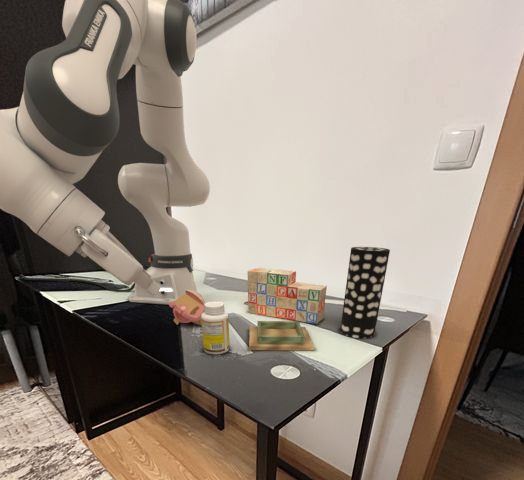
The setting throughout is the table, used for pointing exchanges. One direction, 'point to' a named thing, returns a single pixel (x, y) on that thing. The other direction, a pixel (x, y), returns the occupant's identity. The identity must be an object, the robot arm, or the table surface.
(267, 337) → the wooden board green frame
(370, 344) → the table surface
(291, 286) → the stack of blocks
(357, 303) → the spotted tube
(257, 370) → the table surface
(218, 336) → the supplement bottle
